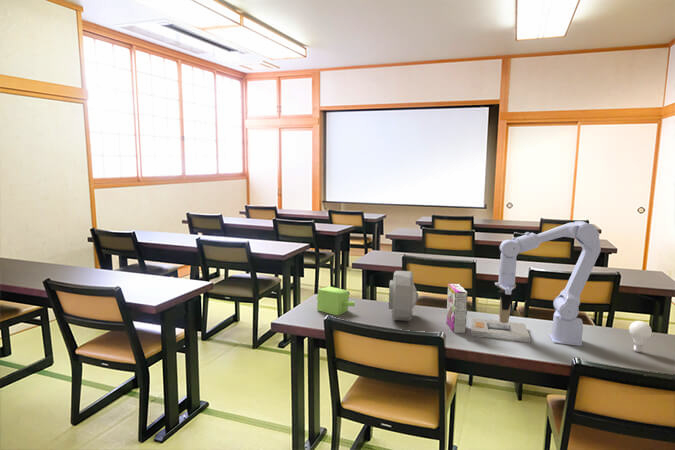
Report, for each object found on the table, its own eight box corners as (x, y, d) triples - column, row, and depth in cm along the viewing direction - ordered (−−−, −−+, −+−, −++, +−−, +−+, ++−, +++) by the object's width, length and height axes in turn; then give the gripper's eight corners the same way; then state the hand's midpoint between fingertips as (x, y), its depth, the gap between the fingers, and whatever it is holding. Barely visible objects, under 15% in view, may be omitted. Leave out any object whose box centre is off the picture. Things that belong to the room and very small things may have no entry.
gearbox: (359, 312, 186) (360, 291, 185) (346, 318, 178) (348, 296, 177) (324, 304, 196) (325, 283, 195) (311, 309, 187) (312, 287, 186)
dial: (417, 329, 167) (420, 278, 164) (387, 326, 169) (389, 277, 166) (416, 311, 187) (418, 266, 184) (389, 309, 189) (391, 265, 186)
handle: (495, 318, 166) (497, 280, 164) (513, 321, 163) (516, 282, 161) (494, 322, 161) (497, 284, 159) (512, 325, 159) (515, 286, 157)
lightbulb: (639, 347, 153) (643, 318, 151) (653, 355, 146) (657, 324, 145) (622, 347, 152) (625, 318, 151) (635, 355, 146) (638, 324, 145)
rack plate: (524, 328, 169) (524, 323, 169) (529, 342, 156) (530, 336, 156) (471, 322, 175) (471, 317, 174) (471, 335, 161) (472, 330, 161)
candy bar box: (445, 322, 174) (447, 283, 172) (457, 323, 174) (459, 283, 172) (452, 333, 163) (455, 291, 161) (466, 333, 163) (468, 291, 161)
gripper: (494, 267, 168) (491, 300, 170) (497, 276, 154) (494, 312, 156) (513, 268, 166) (511, 302, 168) (518, 277, 152) (515, 314, 154)
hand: (504, 307), depth 162 cm, fingers closed on handle, 4 cm apart
